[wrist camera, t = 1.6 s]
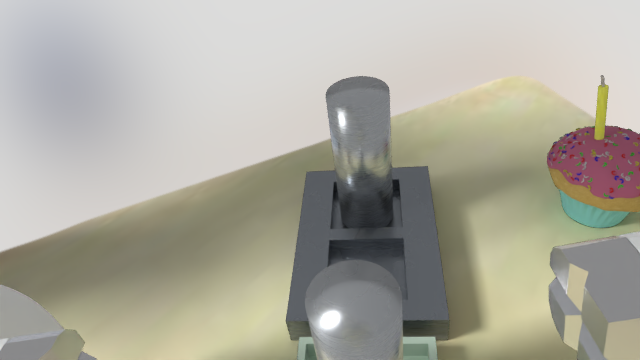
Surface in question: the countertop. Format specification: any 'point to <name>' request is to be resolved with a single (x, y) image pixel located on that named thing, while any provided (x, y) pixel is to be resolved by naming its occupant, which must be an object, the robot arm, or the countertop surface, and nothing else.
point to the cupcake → (597, 170)
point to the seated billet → (362, 150)
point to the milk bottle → (23, 315)
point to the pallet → (374, 250)
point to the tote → (416, 350)
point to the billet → (355, 312)
